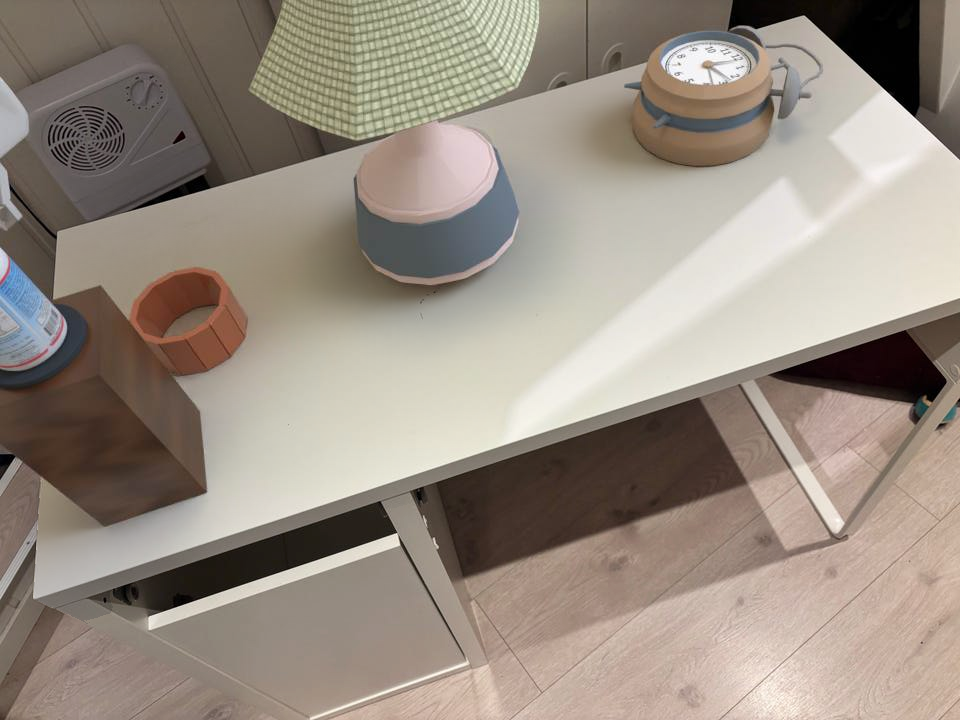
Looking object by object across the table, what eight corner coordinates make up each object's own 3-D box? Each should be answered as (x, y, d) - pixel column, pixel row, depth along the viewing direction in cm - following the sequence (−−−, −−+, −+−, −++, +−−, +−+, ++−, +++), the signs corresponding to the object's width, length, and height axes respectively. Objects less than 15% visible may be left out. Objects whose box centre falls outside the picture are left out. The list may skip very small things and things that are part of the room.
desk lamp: (305, 210, 94) (148, -170, 61) (512, 141, 97) (469, -256, 64) (353, 356, 79) (178, -46, 46) (597, 268, 82) (597, -167, 49)
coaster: (-20, 402, 56) (-25, 398, 55) (-9, 326, 60) (-14, 321, 60) (86, 369, 56) (82, 364, 56) (88, 296, 61) (84, 291, 61)
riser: (104, 527, 70) (-35, 417, 55) (105, 441, 76) (-20, 321, 61) (207, 492, 71) (99, 374, 56) (200, 410, 77) (100, 284, 62)
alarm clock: (612, 40, 92) (786, -8, 93) (611, 105, 99) (772, 60, 101) (670, 116, 82) (864, 61, 83) (664, 182, 89) (842, 131, 90)
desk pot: (210, 384, 79) (187, 353, 75) (135, 360, 83) (109, 329, 78) (264, 312, 84) (246, 279, 80) (191, 291, 88) (170, 259, 84)
